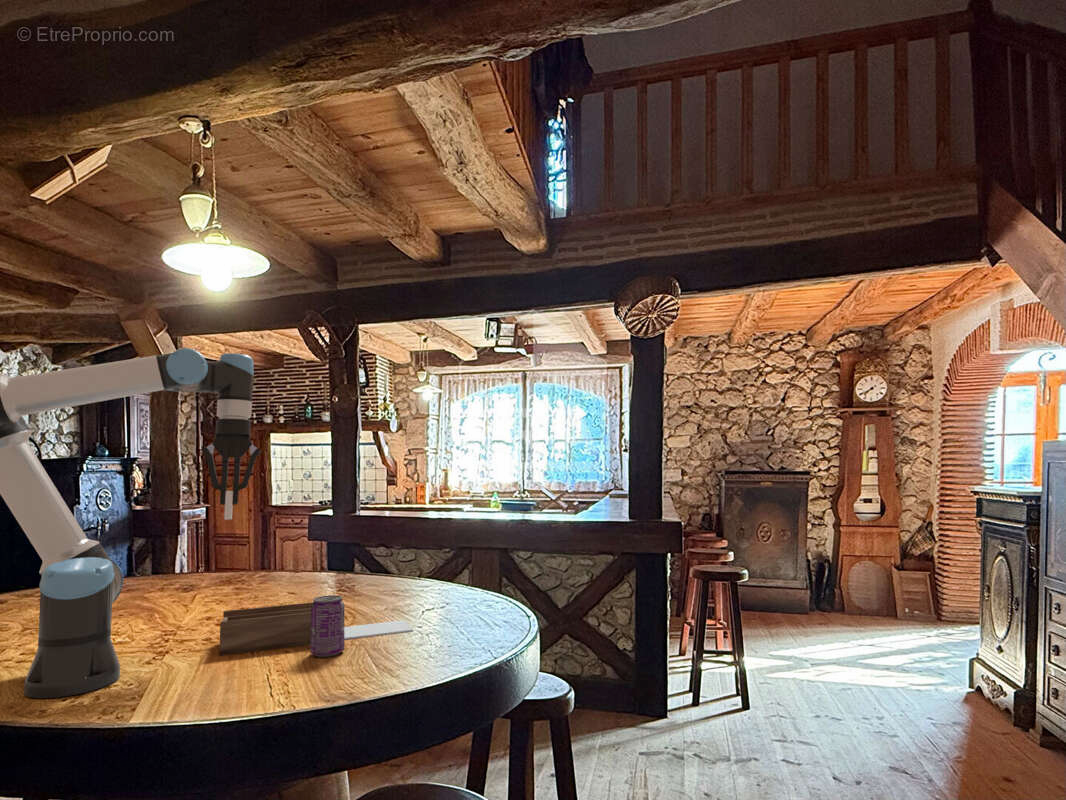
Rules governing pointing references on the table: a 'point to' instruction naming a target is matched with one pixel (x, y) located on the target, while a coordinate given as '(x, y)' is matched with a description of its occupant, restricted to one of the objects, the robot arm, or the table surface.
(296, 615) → the box
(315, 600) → the beverage can
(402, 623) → the lid
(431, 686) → the table surface
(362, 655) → the table surface
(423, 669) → the table surface
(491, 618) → the table surface
